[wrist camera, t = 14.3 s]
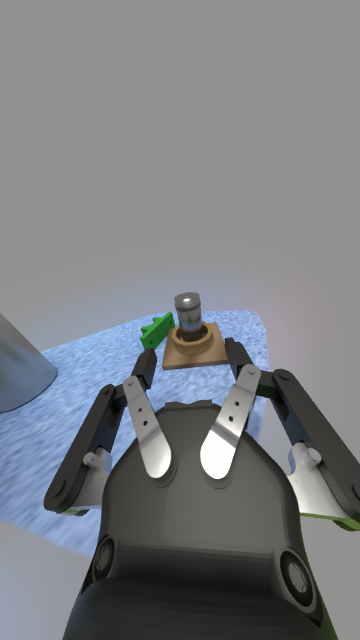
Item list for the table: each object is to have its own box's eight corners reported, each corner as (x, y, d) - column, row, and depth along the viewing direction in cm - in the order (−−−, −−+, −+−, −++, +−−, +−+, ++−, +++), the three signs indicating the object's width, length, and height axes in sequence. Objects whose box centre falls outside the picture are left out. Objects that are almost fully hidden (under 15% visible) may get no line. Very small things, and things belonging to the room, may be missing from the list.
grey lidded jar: (182, 349, 26) (172, 303, 21) (183, 335, 30) (174, 294, 25) (205, 347, 25) (200, 299, 20) (203, 333, 29) (198, 290, 24)
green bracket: (164, 325, 38) (160, 311, 36) (175, 326, 36) (172, 312, 34) (138, 351, 30) (130, 335, 28) (150, 354, 28) (143, 338, 26)
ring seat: (163, 370, 24) (158, 356, 22) (170, 331, 34) (166, 320, 32) (230, 363, 22) (230, 348, 21) (216, 325, 33) (215, 313, 31)
